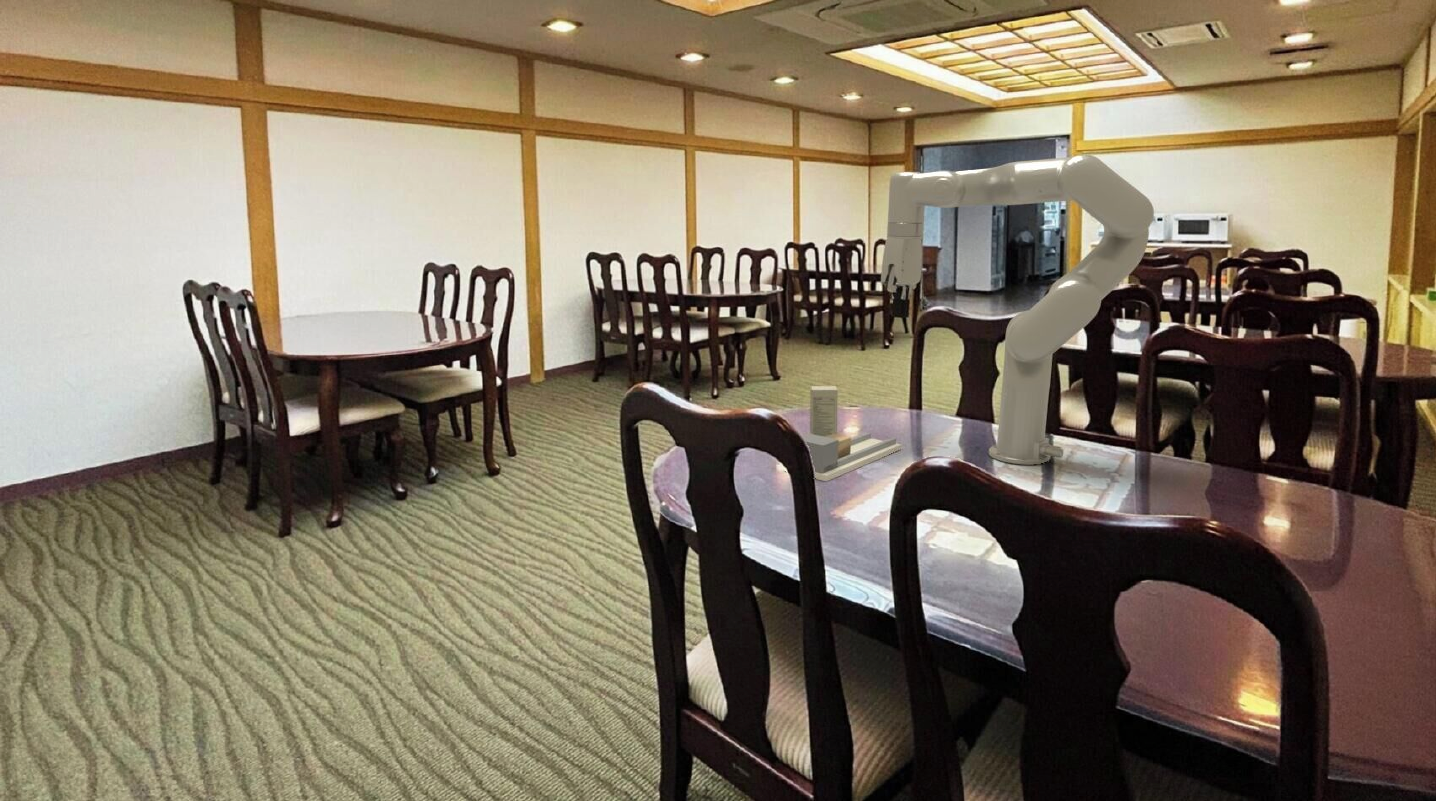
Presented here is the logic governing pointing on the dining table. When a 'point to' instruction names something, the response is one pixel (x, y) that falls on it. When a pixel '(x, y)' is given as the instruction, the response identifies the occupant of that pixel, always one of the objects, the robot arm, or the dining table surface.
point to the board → (860, 455)
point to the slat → (842, 444)
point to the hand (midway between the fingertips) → (900, 317)
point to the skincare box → (823, 410)
